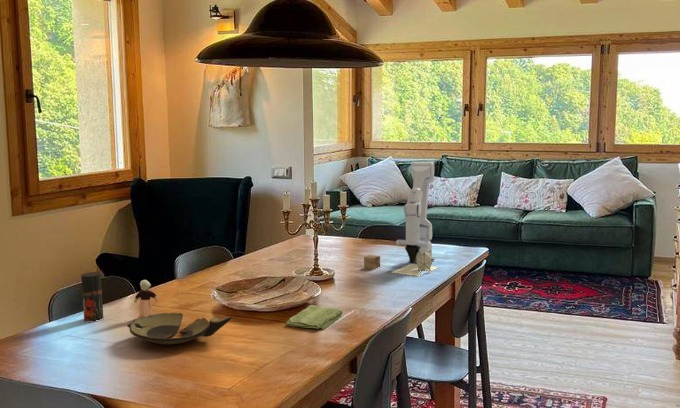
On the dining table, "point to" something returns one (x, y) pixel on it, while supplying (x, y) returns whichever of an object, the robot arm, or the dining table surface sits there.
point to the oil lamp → (173, 328)
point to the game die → (424, 260)
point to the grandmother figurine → (145, 299)
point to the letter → (412, 270)
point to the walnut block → (371, 262)
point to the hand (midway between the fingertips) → (412, 262)
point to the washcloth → (315, 317)
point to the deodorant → (92, 296)
